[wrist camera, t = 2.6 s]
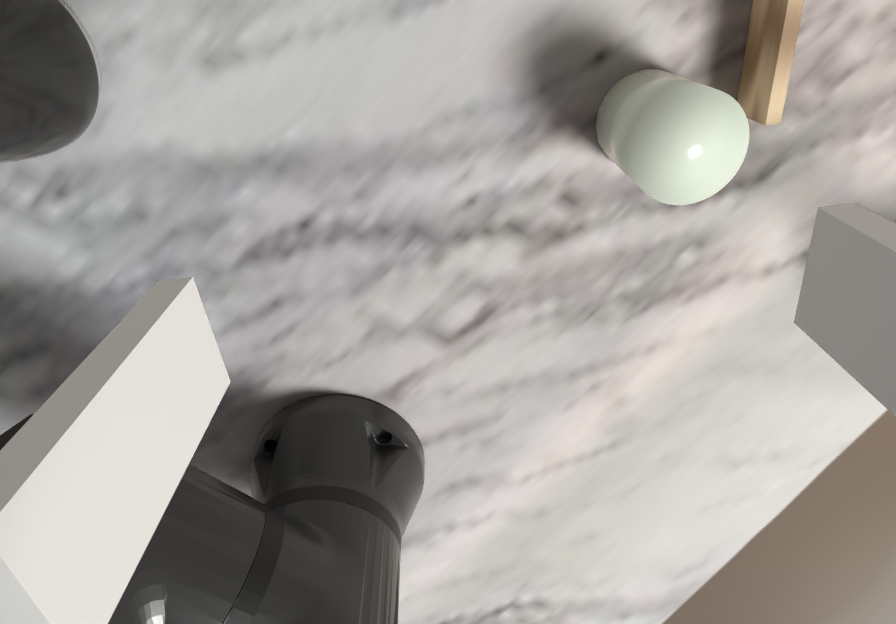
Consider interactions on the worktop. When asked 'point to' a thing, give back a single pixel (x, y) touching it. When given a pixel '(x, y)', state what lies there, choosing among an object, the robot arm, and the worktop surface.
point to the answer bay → (769, 58)
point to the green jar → (672, 135)
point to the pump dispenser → (44, 78)
